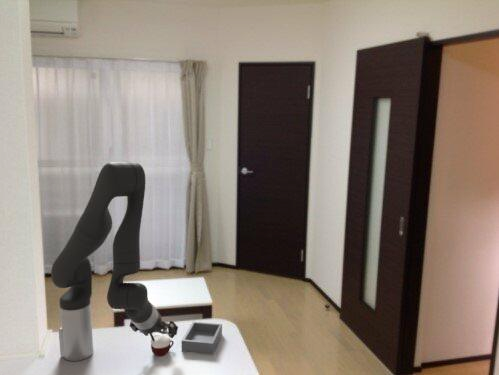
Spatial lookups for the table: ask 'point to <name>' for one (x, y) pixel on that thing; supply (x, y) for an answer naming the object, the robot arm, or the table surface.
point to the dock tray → (202, 338)
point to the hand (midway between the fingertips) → (159, 333)
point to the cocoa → (160, 344)
